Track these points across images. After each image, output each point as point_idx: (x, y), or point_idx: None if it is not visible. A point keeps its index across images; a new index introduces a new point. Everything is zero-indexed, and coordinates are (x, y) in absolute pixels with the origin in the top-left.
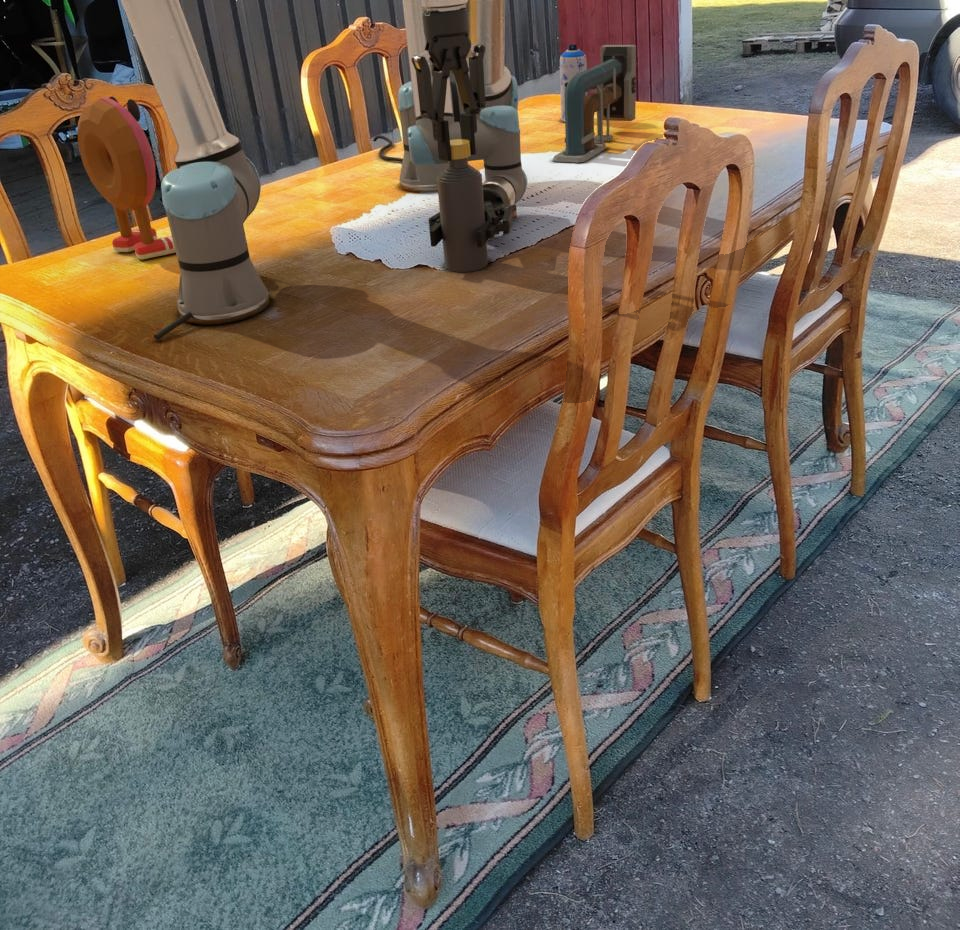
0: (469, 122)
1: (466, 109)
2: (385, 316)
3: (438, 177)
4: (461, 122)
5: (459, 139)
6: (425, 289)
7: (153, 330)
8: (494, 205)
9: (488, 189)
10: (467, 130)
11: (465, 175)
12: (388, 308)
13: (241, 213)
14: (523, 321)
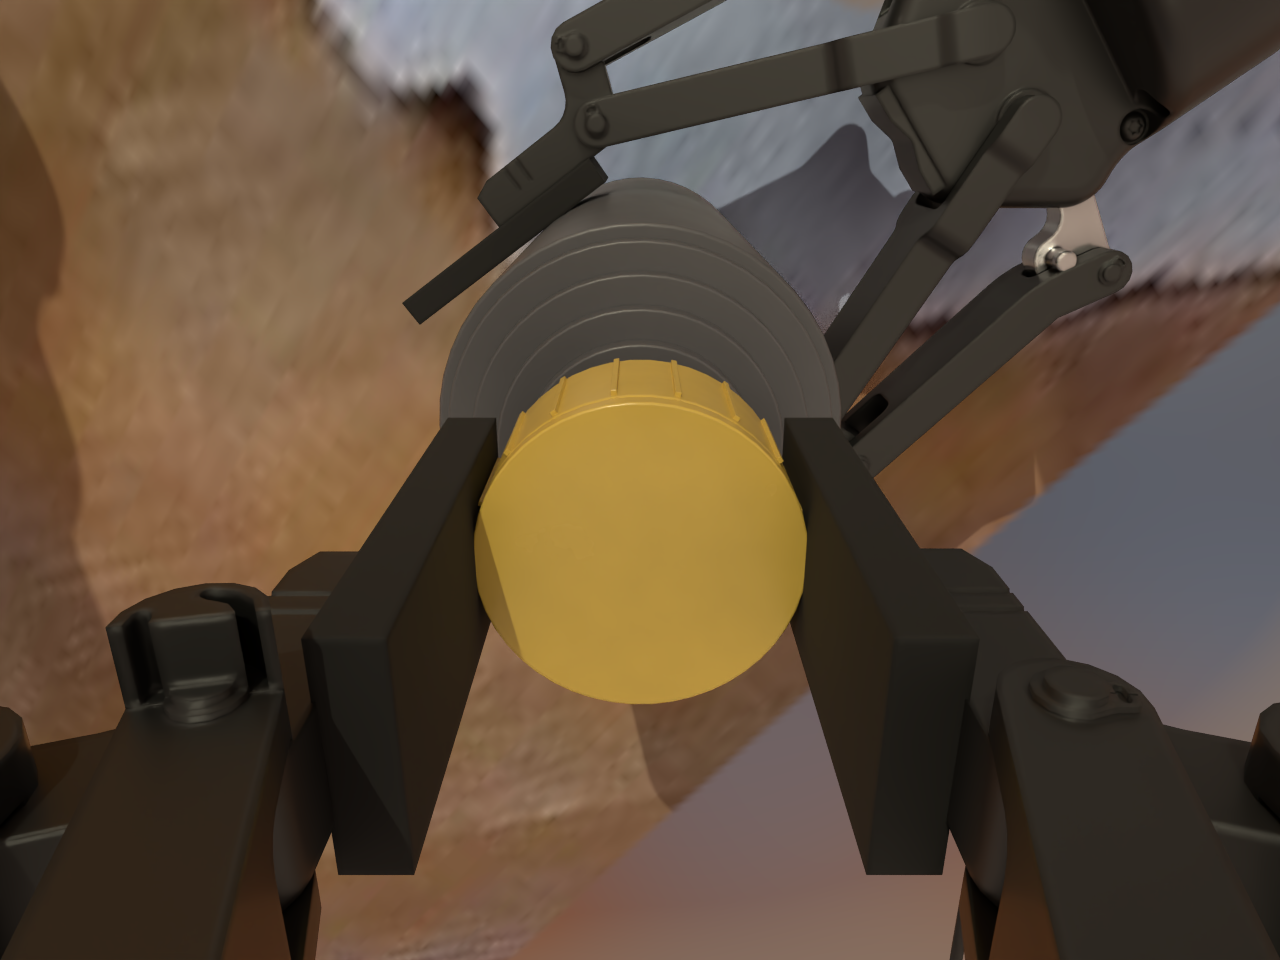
0: (843, 786)
1: (988, 787)
2: (43, 539)
3: (459, 363)
4: (858, 585)
5: (761, 482)
6: (314, 415)
7: None
8: (1064, 143)
9: (1164, 23)
10: (827, 653)
11: None
12: (85, 479)
13: None
14: (428, 890)
